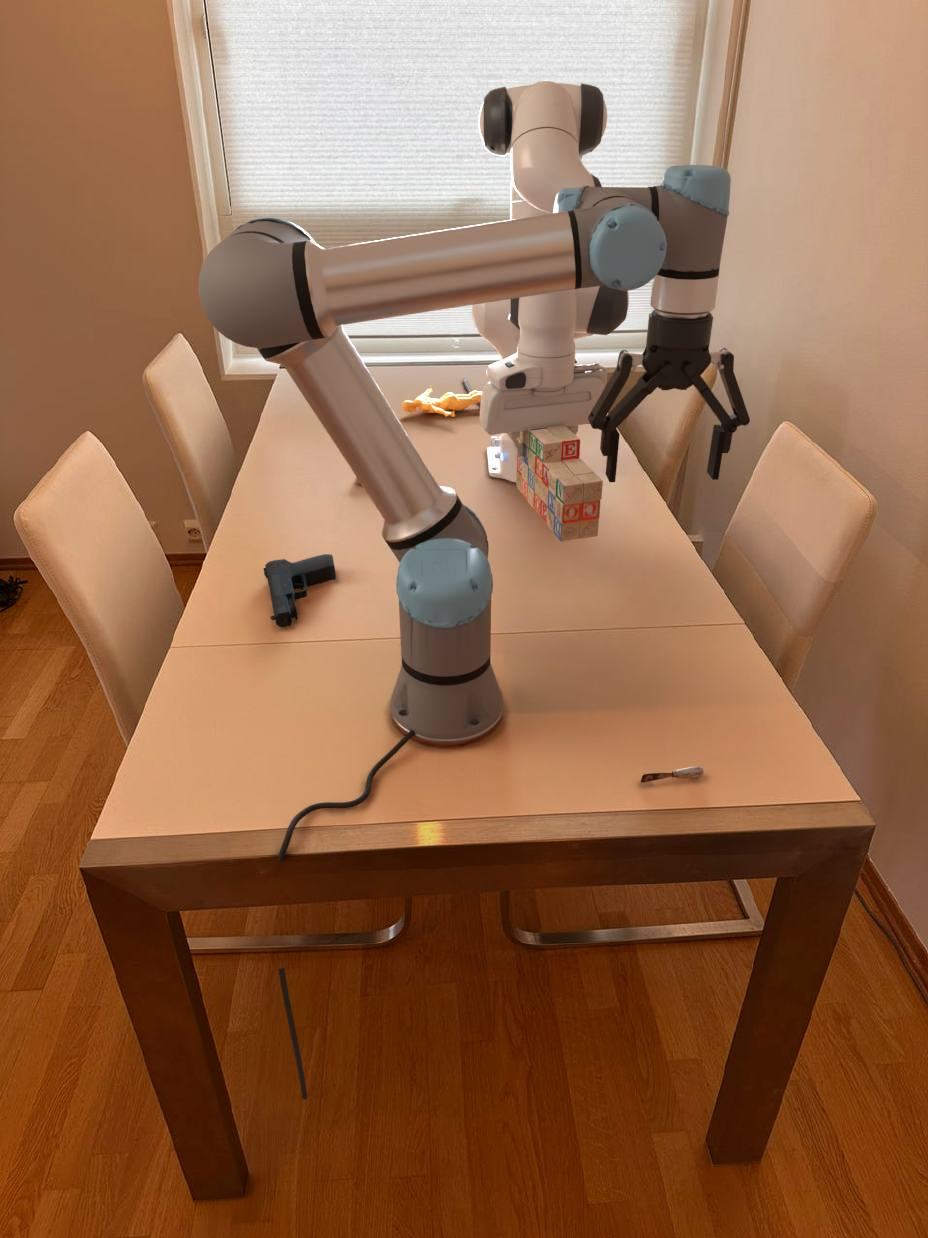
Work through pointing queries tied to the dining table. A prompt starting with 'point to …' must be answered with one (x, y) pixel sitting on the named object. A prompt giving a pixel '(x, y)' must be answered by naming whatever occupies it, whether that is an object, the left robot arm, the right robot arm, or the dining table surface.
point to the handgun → (295, 583)
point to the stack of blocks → (559, 482)
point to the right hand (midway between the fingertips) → (541, 453)
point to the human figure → (442, 402)
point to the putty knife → (674, 774)
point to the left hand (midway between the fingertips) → (661, 477)
